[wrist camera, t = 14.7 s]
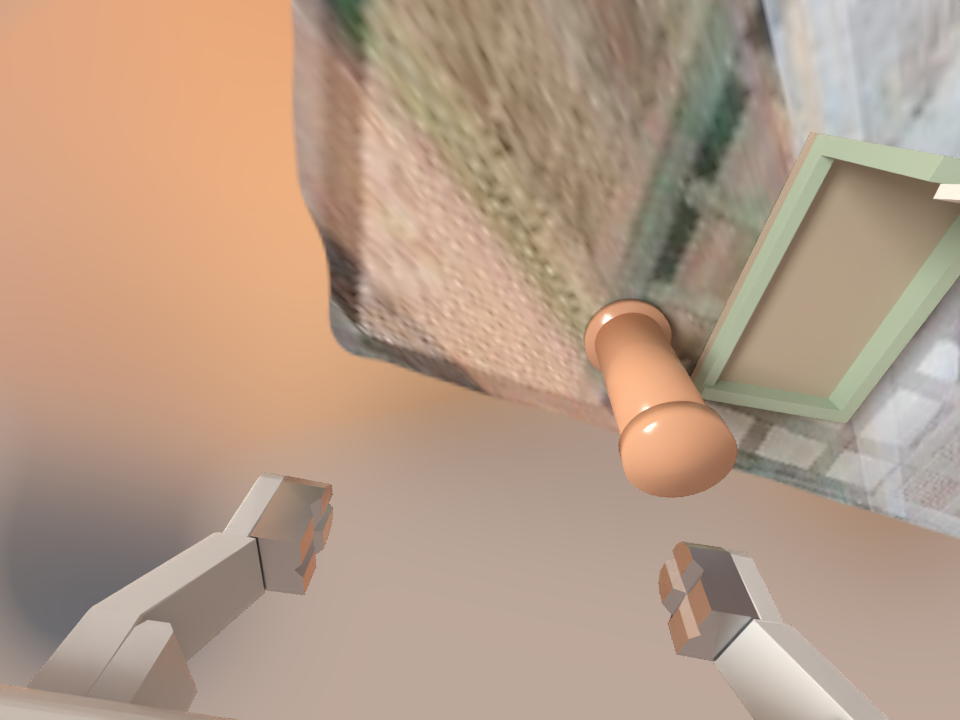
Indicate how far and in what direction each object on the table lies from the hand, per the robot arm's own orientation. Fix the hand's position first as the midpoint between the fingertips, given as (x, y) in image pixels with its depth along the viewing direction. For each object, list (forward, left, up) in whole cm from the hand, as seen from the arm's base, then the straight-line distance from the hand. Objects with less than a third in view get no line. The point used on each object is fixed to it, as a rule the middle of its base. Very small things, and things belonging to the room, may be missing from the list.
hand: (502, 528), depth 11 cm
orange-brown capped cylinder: (+10, +13, -30) cm, 34 cm away
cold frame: (+2, +27, -31) cm, 41 cm away
